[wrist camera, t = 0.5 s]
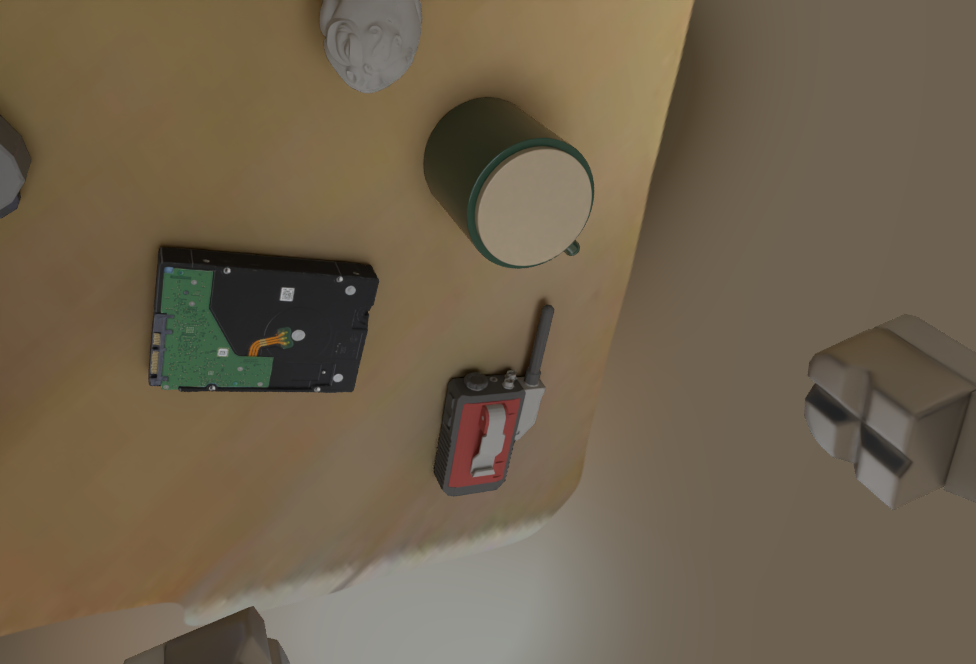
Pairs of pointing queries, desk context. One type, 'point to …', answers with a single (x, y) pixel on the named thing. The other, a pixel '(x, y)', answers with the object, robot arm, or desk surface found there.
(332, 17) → the grey round sculpted piece
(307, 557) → the desk surface
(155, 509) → the desk surface
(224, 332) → the disk drive
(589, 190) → the mug
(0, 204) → the instant camera
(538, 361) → the walkie-talkie
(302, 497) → the desk surface
